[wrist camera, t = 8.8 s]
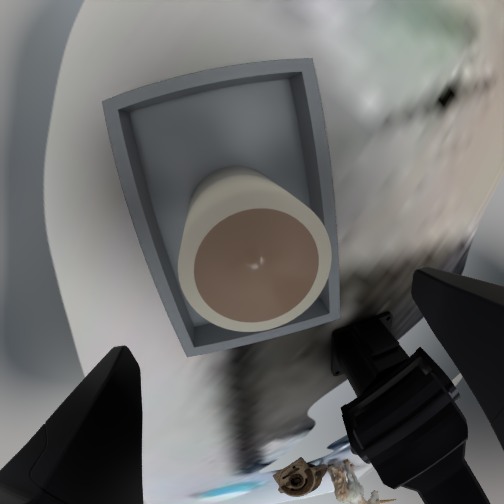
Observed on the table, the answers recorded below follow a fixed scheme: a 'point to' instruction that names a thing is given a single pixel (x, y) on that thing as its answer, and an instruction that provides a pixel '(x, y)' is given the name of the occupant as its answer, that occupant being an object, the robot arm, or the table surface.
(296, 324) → the desk tray
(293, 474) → the brown wooden mallet
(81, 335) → the table surface
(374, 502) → the unicorn figurine
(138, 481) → the robot arm
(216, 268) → the ceramic cup
